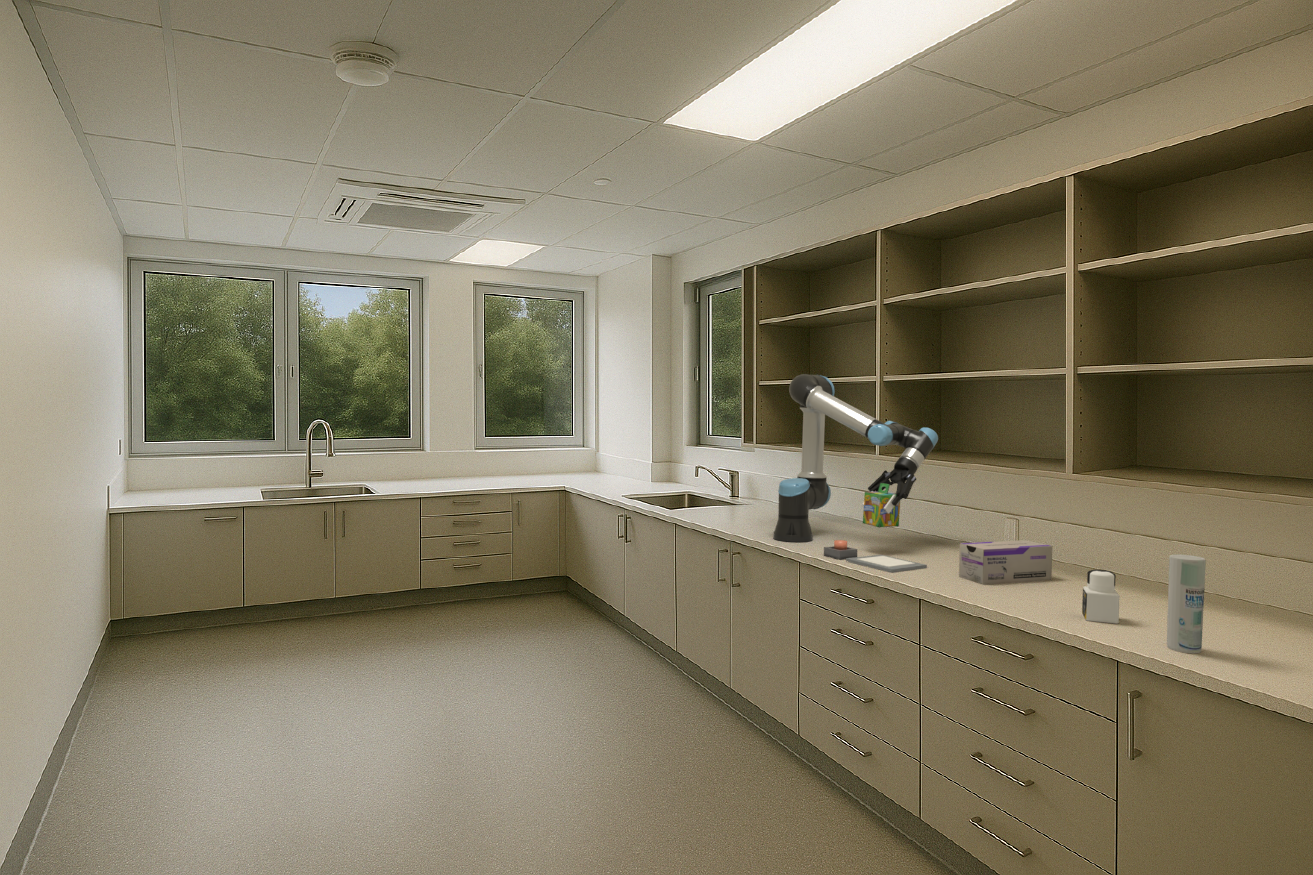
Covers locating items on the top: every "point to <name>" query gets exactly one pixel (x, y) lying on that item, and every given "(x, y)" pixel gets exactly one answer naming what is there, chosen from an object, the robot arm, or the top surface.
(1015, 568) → the surgical sutures box
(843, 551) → the button housing
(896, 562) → the board
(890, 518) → the chalk box
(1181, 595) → the spray can
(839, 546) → the button
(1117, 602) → the medicine bottle
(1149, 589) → the top surface
